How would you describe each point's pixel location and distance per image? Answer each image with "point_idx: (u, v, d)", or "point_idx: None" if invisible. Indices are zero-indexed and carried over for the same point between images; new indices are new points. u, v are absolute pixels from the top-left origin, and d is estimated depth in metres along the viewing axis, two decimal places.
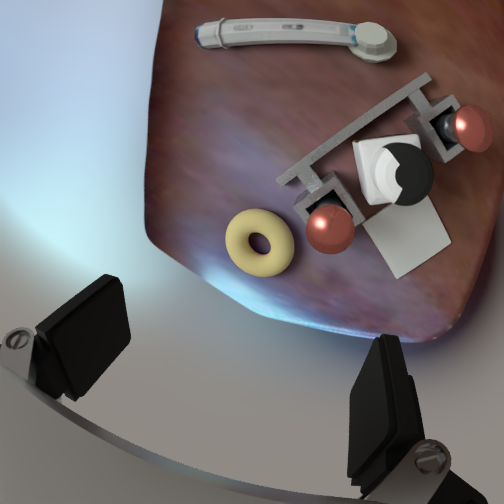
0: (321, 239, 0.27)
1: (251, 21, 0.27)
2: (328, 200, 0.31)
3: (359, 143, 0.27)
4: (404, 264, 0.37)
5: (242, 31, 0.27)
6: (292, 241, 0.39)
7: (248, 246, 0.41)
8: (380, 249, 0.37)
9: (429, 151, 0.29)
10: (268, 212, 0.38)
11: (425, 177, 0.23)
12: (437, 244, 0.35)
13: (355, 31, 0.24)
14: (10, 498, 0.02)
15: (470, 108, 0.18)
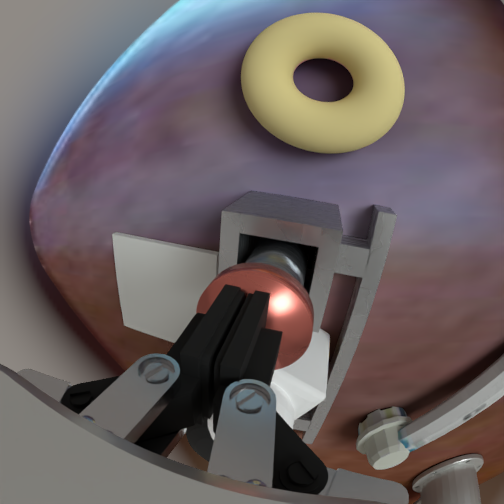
0: None
1: None
2: None
3: (323, 397, 0.16)
4: (126, 258, 0.24)
5: None
6: (278, 137, 0.16)
7: (335, 58, 0.14)
8: (164, 247, 0.23)
9: None
10: (361, 147, 0.16)
11: None
12: (130, 312, 0.26)
13: (407, 451, 0.19)
14: (10, 498, 0.02)
15: None
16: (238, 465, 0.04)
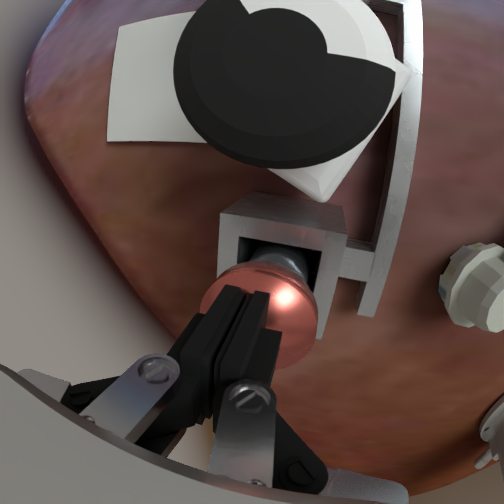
0: None
1: None
2: None
3: (408, 70, 0.09)
4: (129, 44, 0.16)
5: None
6: None
7: None
8: (177, 16, 0.15)
9: (263, 201, 0.17)
10: None
11: (221, 106, 0.06)
12: (119, 114, 0.19)
13: None
14: (10, 498, 0.02)
15: (299, 349, 0.11)
16: (238, 465, 0.04)
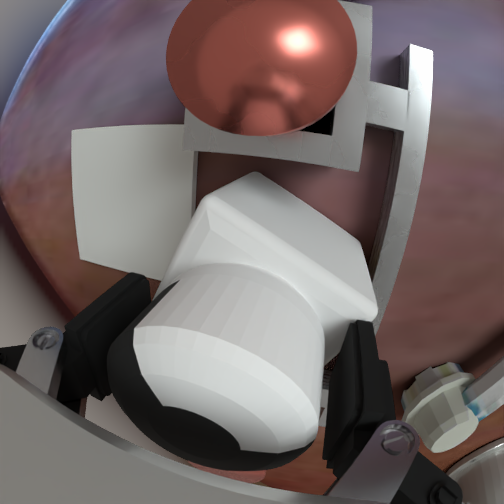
0: (252, 3, 0.05)
1: None
2: None
3: (374, 311, 0.09)
4: (84, 157, 0.17)
5: None
6: None
7: None
8: (129, 129, 0.15)
9: None
10: None
11: (161, 444, 0.07)
12: (86, 236, 0.19)
13: (477, 420, 0.12)
14: (10, 498, 0.02)
15: (254, 478, 0.12)
16: None
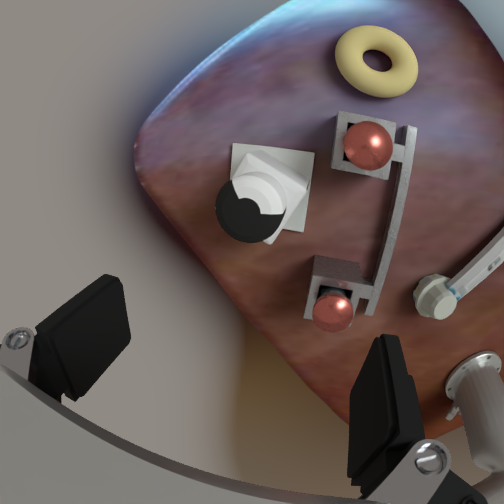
0: (368, 132, 0.23)
1: None
2: None
3: (304, 190, 0.28)
4: None
5: None
6: (355, 85, 0.27)
7: (383, 50, 0.25)
8: (276, 149, 0.33)
9: (324, 264, 0.35)
10: (396, 95, 0.27)
11: (232, 227, 0.25)
12: None
13: (455, 298, 0.30)
14: (10, 498, 0.02)
15: (346, 322, 0.31)
16: None
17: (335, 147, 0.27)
